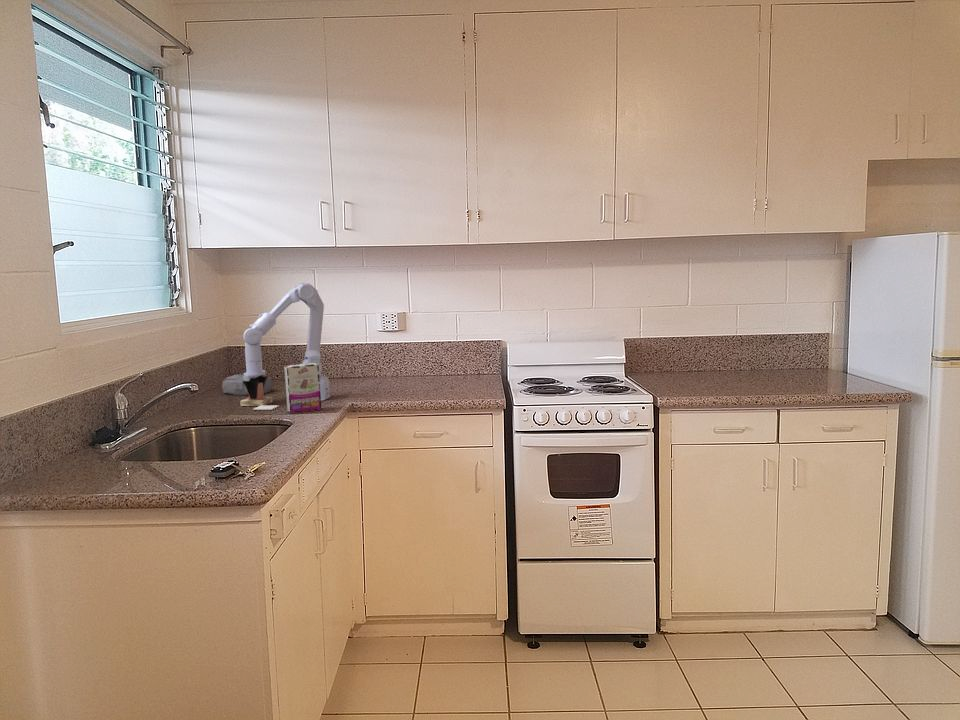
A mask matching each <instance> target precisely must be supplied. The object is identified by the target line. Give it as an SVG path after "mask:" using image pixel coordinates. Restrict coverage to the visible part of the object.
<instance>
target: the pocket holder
mask: <svg viewBox="0 0 960 720" xmlns="http://www.w3.org/2000/svg"><path fill="white" fill-rule="evenodd" d="M239 401H240V403H239V404H240V405H239V406H240V407H241V406H261V405H267V404H268V405H270V404H272V403H273V396H264V398H263V399H261V400H249V397H246V398H244V399H241V400H239ZM271 402H272V403H271ZM269 403H270V404H269Z"/></svg>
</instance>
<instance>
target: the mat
mask: <svg viewBox="0 0 960 720" xmlns="http://www.w3.org/2000/svg"><path fill="white" fill-rule="evenodd" d="M277 407H278V408H280V405H279V404H278V405H272V404H271V405H270V404H268V405H261V406H258V407H253V409H252V411H253V410H272V411H274V410H276V409H278V408H277ZM275 408H276V409H275ZM273 409H274V410H273Z"/></svg>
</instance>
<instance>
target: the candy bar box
mask: <svg viewBox="0 0 960 720" xmlns="http://www.w3.org/2000/svg"><path fill="white" fill-rule="evenodd" d="M283 366H284V367H283V368H284V382H285V392H286V393H285V394H286V406H287V412H288V411H289V412H290V413H289V412H288V413H289V414H294V413H293V412H299V413H303V412H302V411H307V412H312V411H311V410H315V411H321V410H322V401H321V394H320V380H319V366H318V364H317V363H309V364H302V363H300V364H291V365H290V364H289V365H283Z"/></svg>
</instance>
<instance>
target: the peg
mask: <svg viewBox="0 0 960 720" xmlns="http://www.w3.org/2000/svg"><path fill="white" fill-rule="evenodd" d="M264 395H265V394H264V393H263V383H258V386H257V397H256V399H250V397H249V393H248V398H249V400H261V399H263V398H264V397H265V396H264Z"/></svg>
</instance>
